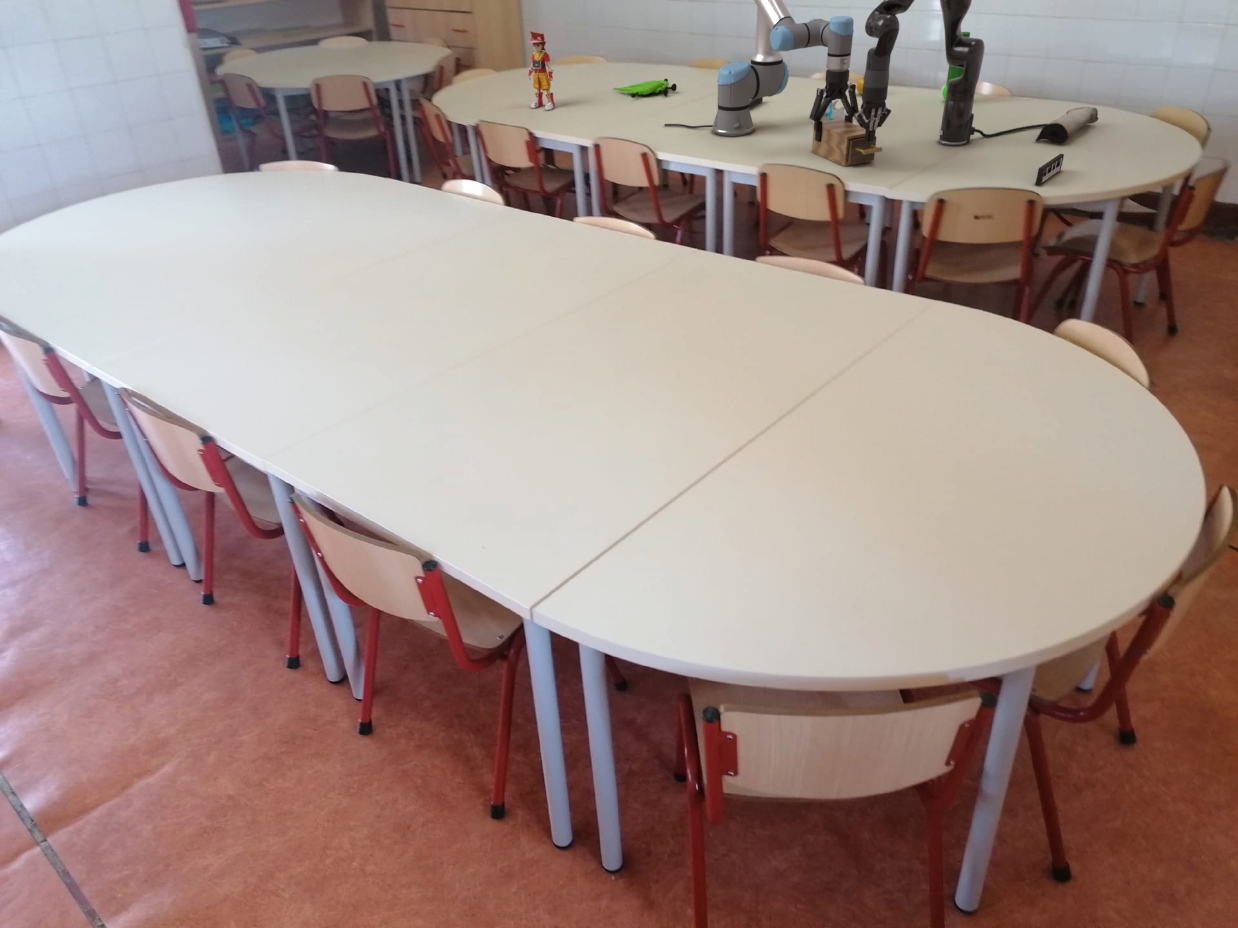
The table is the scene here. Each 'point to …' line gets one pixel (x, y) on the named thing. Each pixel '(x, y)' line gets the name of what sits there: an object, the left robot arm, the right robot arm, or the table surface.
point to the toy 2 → (648, 88)
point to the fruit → (860, 86)
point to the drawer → (861, 150)
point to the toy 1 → (541, 71)
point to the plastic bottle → (954, 69)
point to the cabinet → (836, 140)
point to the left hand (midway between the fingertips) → (832, 138)
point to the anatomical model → (834, 111)
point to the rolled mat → (1068, 125)
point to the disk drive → (755, 102)
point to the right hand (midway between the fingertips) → (869, 141)
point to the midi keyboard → (1049, 169)
